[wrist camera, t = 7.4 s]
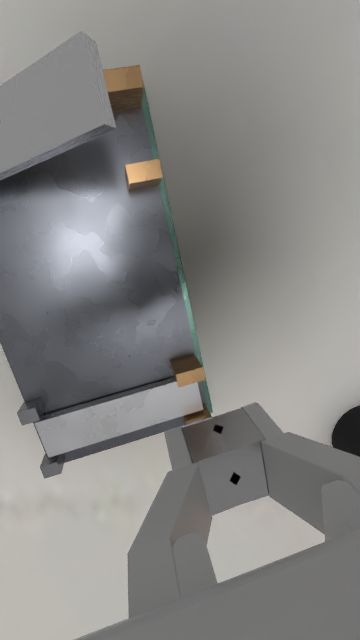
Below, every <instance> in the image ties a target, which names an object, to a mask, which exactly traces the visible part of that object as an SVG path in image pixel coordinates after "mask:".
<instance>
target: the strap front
mask: <svg viewBox="0 0 360 640" xmlns="http://www.w3.org/2000/svg"><path fill="white" fill-rule="evenodd" d="M114 129H116V125H115V121H114V117H113V113H112V108H111V104H110V100H109V96H108V92H107V88H106V83H105V79H104V75H103V71H102V67H101V63H100V59H99V54H98V50H97V46H96V42H95V41H94V40H92V39H91V38H90V37H88V36H87V35H86V34H84V33H83V32H82V31H81V32H79V33H78V34H76V35H75V36H73V37H72V38H71V39H69V40H68V41H66V42H65V43H63V44H62V45H60V46H59V47H57V48H56V49H54V50H53V51H51V52H50V53H48V54H47V55H45V56H44V57H42V58H41V59H40V60H38V61H37V62H35V63H34V64H32V65H31V66H29V67H28V68H26V69H25V70H23V71H22V72H20V73H19V74H17V75H16V76H14V77H13V78H12V79H10V80H9V81H7V82H6V83H4V84H3V85H1V86H0V181H1V180H3V179H5V178H8V177H10V176H12V175H14V174H16V173H19V172H21V171H23V170H25V169H28V168H30V167H32V166H34V165H36V164H39V163H41V162H43V161H45V160H47V159H50V158H52V157H54V156H56V155H59V154H61V153H63V152H65V151H67V150H70V149H72V148H74V147H76V146H79V145H81V144H83V143H85V142H87V141H90V140H92V139H94V138H96V137H99V136H101V135H103V134H105V133H107V132H110V131H112V130H114Z"/></svg>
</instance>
